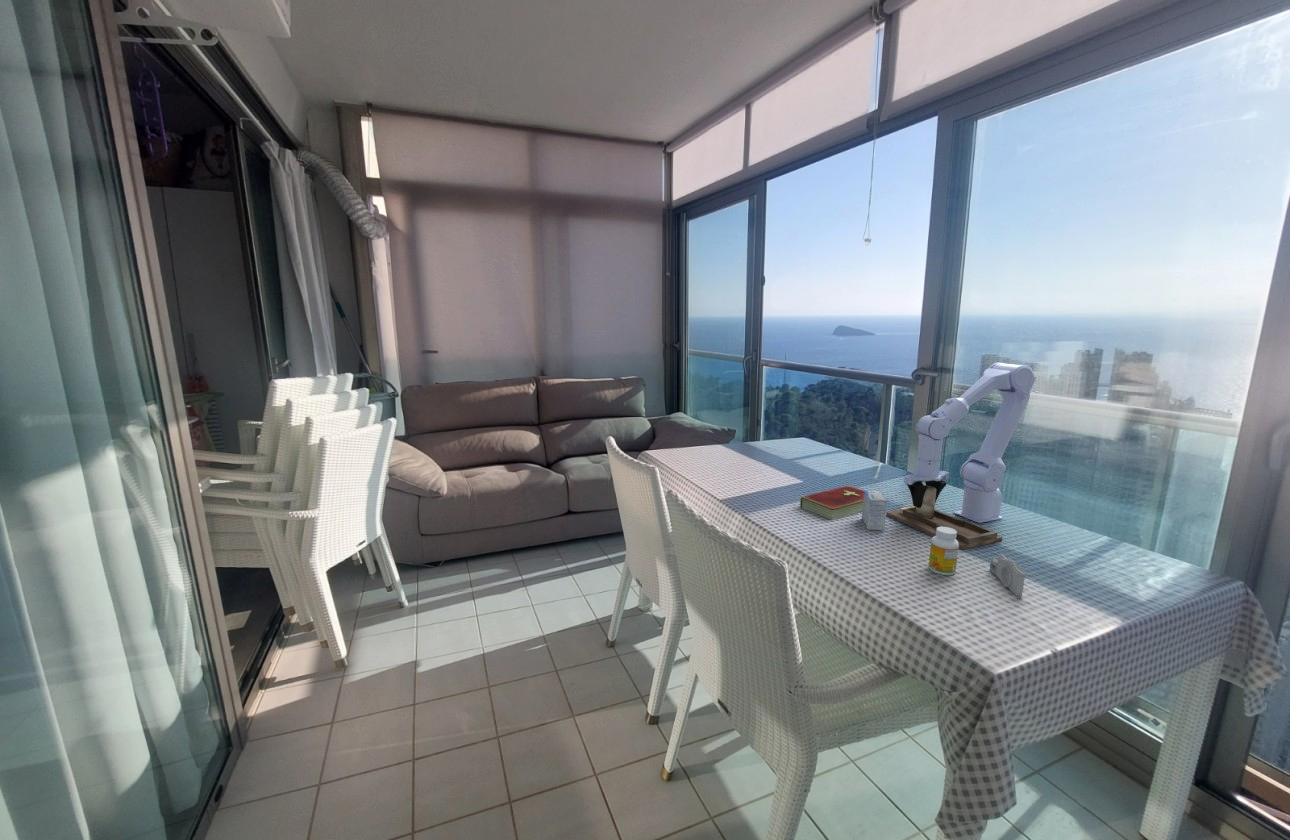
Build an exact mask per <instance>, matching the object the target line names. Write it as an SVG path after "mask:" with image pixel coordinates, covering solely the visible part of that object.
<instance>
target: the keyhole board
mask: <svg viewBox="0 0 1290 840" xmlns="http://www.w3.org/2000/svg"><path fill="white" fill-rule="evenodd" d="M886 516H887V517H889V518H892V519H893V520H896V521H899V522H901V523H903V524H905V525H908V526H909V527H911V528H913V529H914V528H915V529H916V530H918V531H921V532H923V533H924V534H928V535H930V536H931V537H934V536H937V535H936V528H937V527H949V528H952V529H954V530H956V531H957V536H956V538H955V539H956V540H957V541H958V543H959V550H960V549H961V550H965V549H966V550H967V549H972V548H975V547H980V546H984V545H989V544H994V543H998V542H1002V541H1003V536H1000V535H998V532H997V531H994V530H992V529H989V528H986V527H983V526H981V525H979V524H976V523H973V522H971V521H969V520H966V519H961V518H958V517H955V516H953V515H951V514H948V513H945V512H943V511H940V510H938V509H936V508H934V516H933V517H932V518H926V517H924V516H921V515H919V514H917V513H916V507H915V506H913V505H911V506H906V507H905V506H904V507H900V508H899V509H896V510H891V511H886Z"/></svg>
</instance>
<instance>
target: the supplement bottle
mask: <svg viewBox="0 0 1290 840" xmlns="http://www.w3.org/2000/svg"><path fill="white" fill-rule="evenodd" d="M936 535H937V536H932V538H931V540H930V541H931V542H930V550H929V556H928V558H929V560H928V569H930V570H931V571H932V572H933V573H935V574H938V575H942V576H952V575H954V574H955V573H956V571H957V565H958V556H959V555H958V554H959V550H960V548H959V543H958V541H957V540H956V539H955V538H956V536H957V531H956V530H954V529H952V528H949V527H937V528H936Z"/></svg>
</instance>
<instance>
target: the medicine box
mask: <svg viewBox="0 0 1290 840" xmlns="http://www.w3.org/2000/svg"><path fill="white" fill-rule="evenodd" d="M887 502H888V500H886V498H885V497H884V495H883V493H881V491H879V490H864V496H863V509H862V511H861V514H862V515H861V520H862V521H863V523H864V525H865V527H866V528H867V530H871V531H885V530H886V516H887V504H888V503H887Z"/></svg>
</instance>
